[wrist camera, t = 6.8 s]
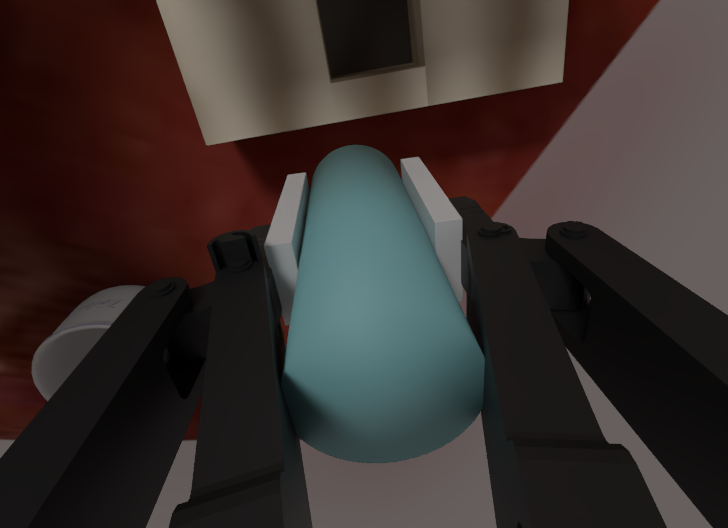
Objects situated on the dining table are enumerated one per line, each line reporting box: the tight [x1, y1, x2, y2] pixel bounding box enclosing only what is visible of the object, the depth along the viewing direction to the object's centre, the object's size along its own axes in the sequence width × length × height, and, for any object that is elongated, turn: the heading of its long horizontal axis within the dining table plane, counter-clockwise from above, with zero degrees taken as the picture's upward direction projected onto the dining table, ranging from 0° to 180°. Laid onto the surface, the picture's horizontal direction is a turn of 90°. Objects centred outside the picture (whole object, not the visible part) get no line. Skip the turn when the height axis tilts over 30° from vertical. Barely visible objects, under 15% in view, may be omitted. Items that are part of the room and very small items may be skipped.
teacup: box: [32, 285, 146, 401], centre depth 34 cm, size 14×11×8 cm
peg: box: [281, 145, 485, 463], centre depth 13 cm, size 4×4×12 cm
